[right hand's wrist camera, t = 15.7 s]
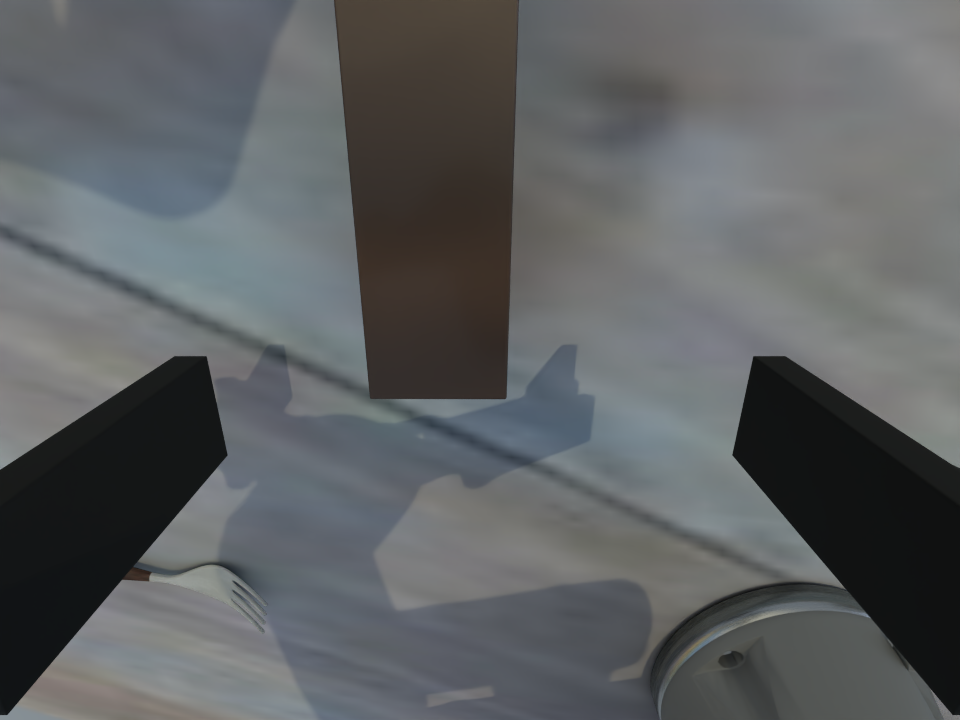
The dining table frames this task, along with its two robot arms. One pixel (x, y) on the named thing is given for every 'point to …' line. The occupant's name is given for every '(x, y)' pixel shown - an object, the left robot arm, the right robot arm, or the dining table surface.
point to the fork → (210, 587)
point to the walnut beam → (432, 189)
